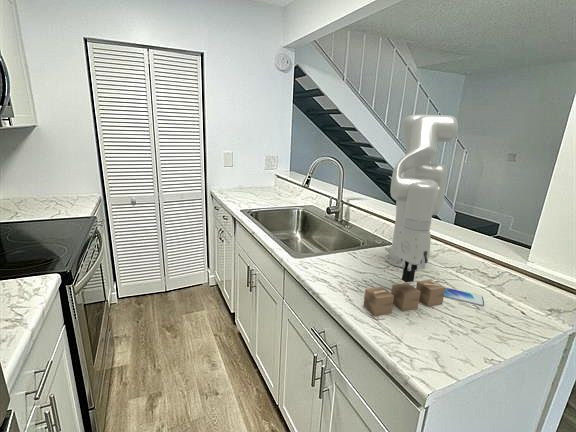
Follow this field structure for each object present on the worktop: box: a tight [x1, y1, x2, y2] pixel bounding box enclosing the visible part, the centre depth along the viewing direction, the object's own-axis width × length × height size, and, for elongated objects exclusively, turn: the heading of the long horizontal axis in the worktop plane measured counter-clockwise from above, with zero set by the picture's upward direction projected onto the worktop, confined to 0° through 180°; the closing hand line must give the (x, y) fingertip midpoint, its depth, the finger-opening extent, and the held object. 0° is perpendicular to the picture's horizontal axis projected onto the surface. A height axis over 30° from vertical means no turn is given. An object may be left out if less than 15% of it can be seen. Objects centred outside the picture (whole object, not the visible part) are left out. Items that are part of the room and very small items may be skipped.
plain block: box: [390, 282, 421, 312], centre depth 100 cm, size 6×6×6 cm
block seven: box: [415, 279, 446, 307], centre depth 103 cm, size 6×6×6 cm
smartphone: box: [444, 286, 485, 307], centre depth 108 cm, size 7×1×15 cm
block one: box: [363, 286, 394, 317], centre depth 96 cm, size 6×6×6 cm
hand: (407, 280), depth 98 cm, fingers closed
